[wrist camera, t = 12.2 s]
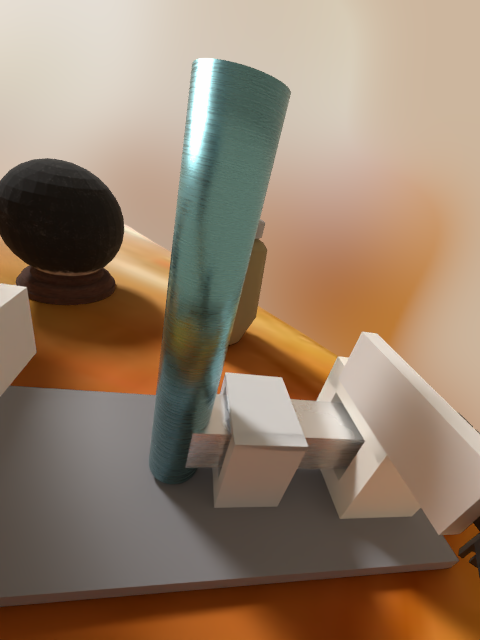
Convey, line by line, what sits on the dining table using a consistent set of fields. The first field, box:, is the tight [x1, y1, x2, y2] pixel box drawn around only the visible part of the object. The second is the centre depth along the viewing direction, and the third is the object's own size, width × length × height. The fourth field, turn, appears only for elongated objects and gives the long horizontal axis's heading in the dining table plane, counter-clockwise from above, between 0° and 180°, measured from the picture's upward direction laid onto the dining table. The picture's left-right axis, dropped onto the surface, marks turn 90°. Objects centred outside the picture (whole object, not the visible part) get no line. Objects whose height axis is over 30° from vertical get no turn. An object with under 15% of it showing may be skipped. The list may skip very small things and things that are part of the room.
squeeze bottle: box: [229, 220, 267, 345], centre depth 31 cm, size 8×8×18 cm
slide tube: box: [149, 58, 365, 484], centre depth 15 cm, size 16×3×20 cm, turn 98°
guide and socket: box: [0, 357, 459, 607], centre depth 17 cm, size 30×12×8 cm, turn 98°
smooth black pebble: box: [0, 158, 124, 305], centre depth 34 cm, size 13×13×15 cm
